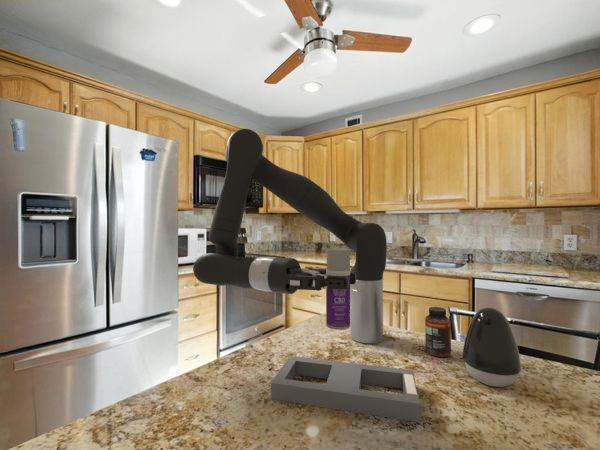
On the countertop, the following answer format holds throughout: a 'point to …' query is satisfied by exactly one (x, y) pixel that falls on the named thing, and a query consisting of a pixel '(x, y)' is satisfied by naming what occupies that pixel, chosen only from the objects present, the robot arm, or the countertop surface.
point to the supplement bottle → (437, 332)
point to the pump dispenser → (491, 349)
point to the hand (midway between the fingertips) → (351, 280)
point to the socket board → (348, 387)
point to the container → (338, 290)
